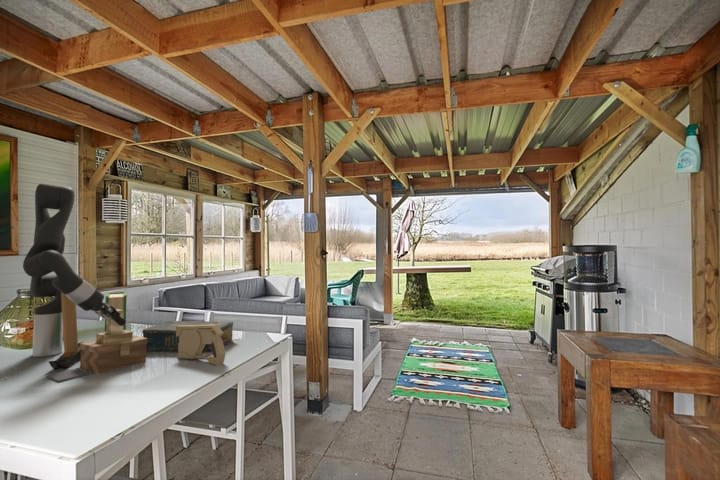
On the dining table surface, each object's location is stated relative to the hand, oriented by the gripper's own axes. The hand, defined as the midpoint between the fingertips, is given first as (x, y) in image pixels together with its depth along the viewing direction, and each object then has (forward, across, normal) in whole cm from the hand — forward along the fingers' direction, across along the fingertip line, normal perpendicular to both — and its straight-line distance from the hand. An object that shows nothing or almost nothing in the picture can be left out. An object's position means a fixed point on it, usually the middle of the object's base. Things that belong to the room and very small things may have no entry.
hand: (120, 323), depth 133 cm
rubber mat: (0, 0, +22) cm, 22 cm away
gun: (+23, -25, -1) cm, 34 cm away
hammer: (+5, +17, +18) cm, 25 cm away
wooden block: (+2, 0, +5) cm, 5 cm away
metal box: (+32, -1, -9) cm, 33 cm away
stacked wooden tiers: (+10, 0, +12) cm, 15 cm away
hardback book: (+19, +27, +3) cm, 33 cm away
